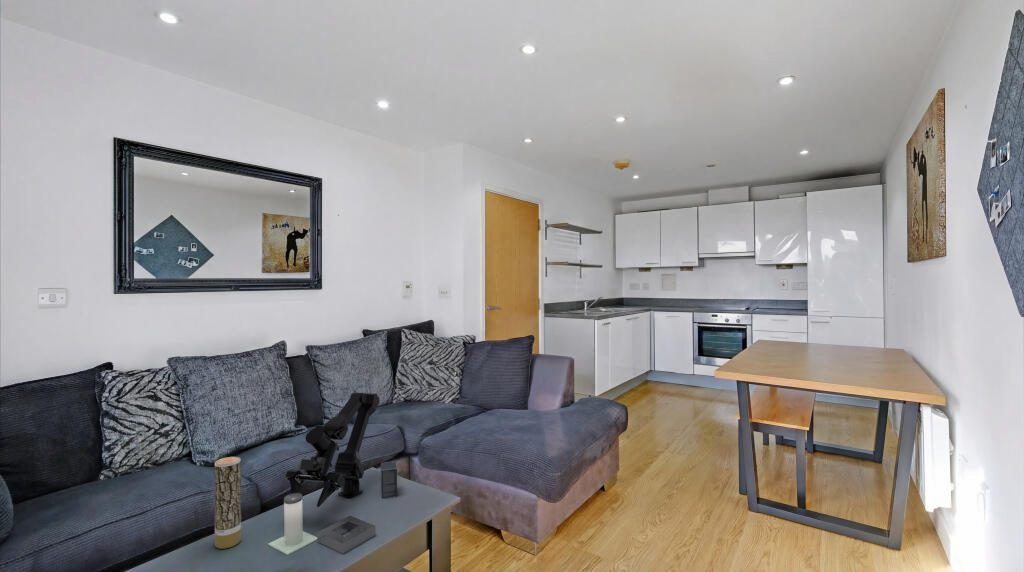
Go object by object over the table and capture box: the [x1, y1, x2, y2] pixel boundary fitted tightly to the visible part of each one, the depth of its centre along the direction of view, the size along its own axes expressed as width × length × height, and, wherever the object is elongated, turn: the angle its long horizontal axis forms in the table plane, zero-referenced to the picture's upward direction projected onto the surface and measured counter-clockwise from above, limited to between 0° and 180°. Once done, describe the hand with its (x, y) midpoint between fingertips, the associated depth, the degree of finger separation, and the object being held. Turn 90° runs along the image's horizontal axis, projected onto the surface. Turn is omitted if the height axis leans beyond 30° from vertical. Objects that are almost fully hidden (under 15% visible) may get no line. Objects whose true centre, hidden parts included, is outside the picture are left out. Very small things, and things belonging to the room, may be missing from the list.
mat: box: [267, 530, 317, 556], centre depth 142 cm, size 10×10×1 cm
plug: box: [283, 492, 304, 545], centre depth 142 cm, size 5×5×13 cm
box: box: [380, 460, 398, 499], centre depth 176 cm, size 8×6×11 cm
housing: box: [316, 515, 377, 555], centre depth 144 cm, size 12×12×3 cm
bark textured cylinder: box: [214, 456, 242, 550], centre depth 142 cm, size 7×7×25 cm
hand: (304, 505), depth 148 cm, fingers open, 9 cm apart
